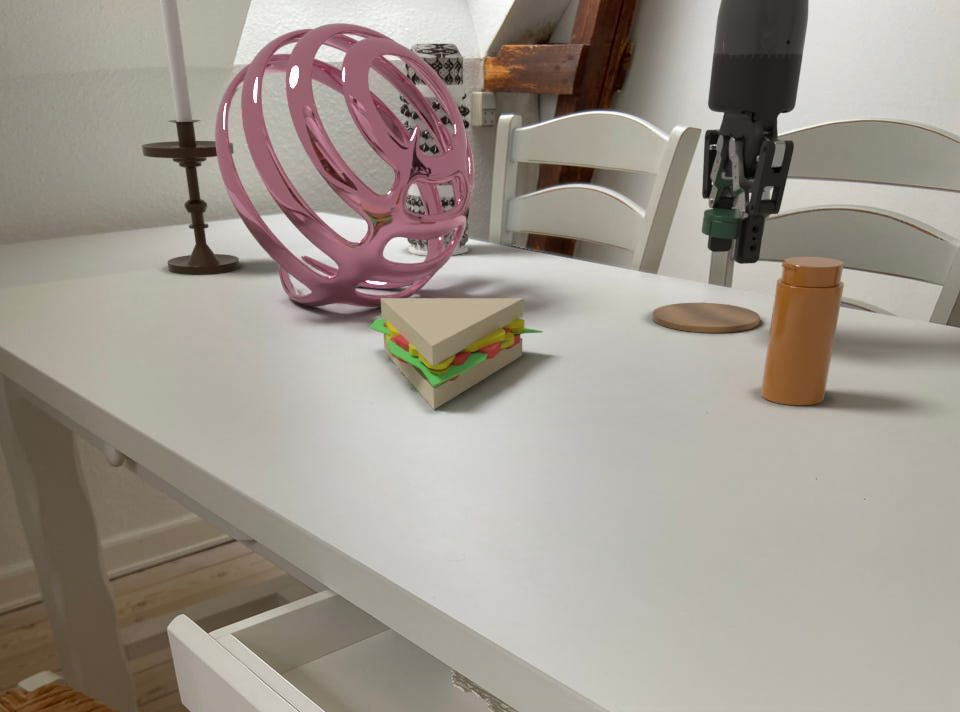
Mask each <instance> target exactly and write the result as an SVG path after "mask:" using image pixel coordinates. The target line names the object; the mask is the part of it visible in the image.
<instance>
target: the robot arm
mask: <svg viewBox="0 0 960 712" xmlns="http://www.w3.org/2000/svg"><path fill="white" fill-rule="evenodd" d="M809 3H810V2H809V0H720V3H719V9H718V13H717V19H716V24H715V35H714V42H713V43H714V44H713V55H712V63H711V73H710V81H709V90H708V100H707V106H708V109H709V110H710V111H712V112H716V113H723V116H722V119H721V124H720V127H719V128H717V129H707V130H706V131H705V134H704V142H703V143H704V146H703V163H702V164H703V166H702V188H701V190H702V191H701V193H702V194H701V196H702V199H704V200H706V199H708V207H709V209H718V208H729V209H736V208H737V204H738V209H739V217H740V219H738V227H737V235H736V239H735V244H734V251H733V261H734V262H735V263H737V264H741V265H743V264H744V265H745V264H746V265H747V264H756V263H757V262H759V260H760V255H761V248H762V241H763V236H762V234H763V235H764V232H763V227H764V228H765V226H764V220H765V219H766V220H768V219H769V217H770V216H771V215H779V213H780V211H781V206H782V202H783V198H784V194H785V189H786V185H787V180H788V175H789V171H790V168H791V163H792V158H793V153H794V150H795V143H794V141H793V140H787V139H786V140H780V139H779V138H778V137H779V133H778V117H779V115H781V114H788V113H791V112H792V111H793V110H794V109H795V107H796V104H797V96H798V90H799V82H800V76H801V70H802V63H803V56H804V50H805V49H804V48H805V43H806V36H807V29H808V23H809V22H808V21H809V5H810V4H809ZM771 190H772V193H771ZM766 220H765V221H766ZM733 240H734V239H725V238H718V237H712V236H708V237H707V249H708V250H709V251H711V252H714V253H724V252H729V251H730V250H731V249H732V247H733Z"/></svg>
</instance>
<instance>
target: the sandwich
mask: <svg viewBox="0 0 960 712" xmlns="http://www.w3.org/2000/svg"><path fill="white" fill-rule="evenodd" d="M380 311H381V312H380V313H381V317H382V318H376V319H375V320H374V322H373V323H371V325H370V326H369V329H371V330H372V331H376V332H378V333H382V334H383V349H384V351H383V352H384V353H385V354H386V355H387V356H388V358H390V360H391V361H392V362H393V363H394V364H395V366H396V367H397V369H399V370H400V372H401V373H402V374H403V375H404V376H405V377H406V379H407V380H408V381H409V382H410V383H411V385H412V386H413V387H414V388H415V389H416V390H417V391H418V393H419V394H420V395H421V396H422V397H423V399H424V400H425V401H426V402H427V403H428V404H429V406H430V407H431V408H432V409H433V410H436V409H438V408H439V407H441V406H443V405H444V404H446V403H448V402H449V401H451V400H452V399H454V398H455V397H458V396H460V394H462V393H463V392H465V391H467V390H469V389H471V388H472V387H474V386H475V385H477V384H478V383H480V382H482V381H483V380H485V379H487V378H488V377H489V376H491V375H493V374H494V373H496V372H498V371H500V370H501V369H503V368H504V367H506V366H508V365H509V364H511V363H513V362H514V361H516V360H517V359H519V358H521V357H522V356H523V338H522V337H521V335H523V334H537V333H540V334H542V333H543V330H539V329H532V328H528V327H525V319H522V318H523V317H524V298H522V297H521V298H518V297H517V298H515V297H514V298H513V297H511V298H510V297H509V298H499V297H498V298H497V297H495V298H493V297H491V298H489V297H488V298H487V297H486V298H485V297H483V298H481V297H480V298H479V297H476V298H472V297H471V298H470V297H468V298H467V297H464V298H463V297H460V298H458V297H457V298H454V297H453V298H451V297H449V298H448V297H446V298H445V297H443V298H441V297H437V298H436V297H434V298H433V297H432V298H430V297H429V298H428V297H423V298H422V297H421V298H420V297H419V298H418V297H417V298H414V297H409V298H381V307H380Z"/></svg>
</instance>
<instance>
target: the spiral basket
mask: <svg viewBox="0 0 960 712" xmlns="http://www.w3.org/2000/svg"><path fill="white" fill-rule="evenodd" d="M348 35H351V36H355V37H360V38H363V39H360V40H358V39H356V38H353V37H351V36H348ZM291 44H295V45H294V47H293V49H292V50H291V53H276V52H277V51H279V50H280V49H281V48H283V47H285V46H288V45H291ZM321 46H327V47H329V48H332V49H335V50H338V51H340V52H343V53H345V55H344V58H343V61H342V63H341V69H340V68H338V67H336V66H334V65H332V64H330V63H328V62H325V61H323V60H321V59H317V58H316V55H317V54H318V51H319V50H320V48H321ZM410 49H411V48H408V47H407V46H405V45H403V44H401V43H399V42H397V41H396V40H394V39H392V38H391V37H390V36H387V35H386V34H384V33H381V32H379V31H377V30H375V29H372V28H369V27H366V26H362V25H359V24H355V23H354V24H353V23H345V22H344V23H343V22H342V23H341V22H339V23H338V22H335V23H328V24H323V25H319V26H317V27H315V28H301V29H296V30H292V31H289V32H286V33H284V34H282V35H279V36H277V37H275V38H274V39H272V40H271V41H269V42H268V43H266V44H265V45H264V46H263V47H262V48H261V49H260V50H259V51H258V52H257V53H256V55H255V56H254V57H253V59H252V60H251V62H249V63H248V64H247V65H246V66H244V67H242V69H240V71H238V73H236V74H235V76H234V77H233V78H232V79H231V81H230V83H229V84H228V86H227V87H226V89H225V91H224V93H223V95H222V97H221V100H220V103H219V104H218V105H219V106H218V109H217V114H216V120H215V128H214V141H215V144H216V153H217V156H216V159H217V164H218V168H219V172H220V175H221V178H222V181H223V184H224V186H225V189H226V192H227V194H228V197H229V199H230V201H231V203H232V205H233V207H234V209H235V211H236V212H237V214H238V216H239V217H240V219H241V221H242V222H243V224H244V225H245V227H246V229H247V230H248V231H249V233H250V234H251V235H252V237H253V238H254V239H255V241H256V242H257V243H258V244H259V246H260V247H261V248H262V249H263V250H264V252H265V253H266V254H267V255H268V256H269V257H270V258H271V259H272V260H273V261H274V262H275V263H276V264H277V265H278V272H279V273H278V274H279V279H280V283H281V286H282V289H283V291H284V292H285V293H286V294H285V295H287V296H288V298H290V299H291V300H292V301H294V302H296V303H298V304H300V305H303V306H307V307H313V308H314V307H315V308H318V307H324V306H329V305H336V304H337V305H346V306H354V307H360V308H381V298H411V297H412V296H413V295H415V294H416V293H418V292H419V291H420V290H422V288H423V287H425V286H426V285H427V284H428V282H429V281H430V280H431V279H432V278H433V277H434V276H435V275H436V274H437V273H438V272H439V271H440V269H442V268H443V267H444V266H445V265H446V264H447V263H448V262H449V260H450V259H451V258H452V256H454V255H453V253H454V252H455V250H456V248H457V246H458V245H459V243H460V240H461V238H462V236H463V233H464V231H465V227H466V224H467V223H468V220H469V215H470V210H471V207H472V201H473V196H474V190H475V177H476V175H475V161H474V155H473V151H472V146H471V142H470V139H469V135H468V132H467V129H465V127H464V123H463V120H464V119H463V117H462V116H461V114H460V111H459V109H458V106H457V104H456V102H455V100H454V98H453V96H452V94H451V93H450V91H449V89H448V88H447V86H446V85H445V83H444V82H443V81H442V79H441V78H440V77H439V75H438V74H437V73H436V72H435V71H434V70H433V69H432V68H431V66H430V65H429V64H427V63H426V62H425V61H424V60H423V59H422V58H421V57H420V56H418V55H417V54H416V53H414V52H413V51H411V50H410ZM275 53H276V54H275ZM385 56H393V57H397V58H398V59H400V60H401V61H403V63H404V64H405V63H406V64H407V65H408V66H409V67H410V68H411V69H412V70H413V71H414V72H415V73H416V74H417V75H418V76H419V77H420V78H421V79H422V80H423V81H424V82H425V83H426V85H427V86H428V87H429V88H430V90H431V91H432V92H433V94H434V95H435V96H436V98H437V99H438V101H439V102H440V104H441V105H442V107H443V108H444V110H445V112H446V114H447V115H448V117H449V119H450V121H451V123H452V125H453V130H454V137H453V136H452V135H451V133H450V132H449V130H448V129H447V128H446V126H445V125H444V124H443V123H442V122H441V120H440V118H439V117H438V115H437V114H436V112H435V110H434V109H433V108H432V106H431V105H430V103H429V102H428V101H427V99H426V98H425V97H424V95H423V94H422V93H421V92H420V91H419V89H418V88H417V87H416V86H415V85H414V84H413V83H412V82H411V80H410V79H409V78H408V77H407V76H406V73H404V72H402V70H400V68H398V66H396V65H395V64H394V63H393V62H391V61H390V60H389V59H388V58H387V57H385ZM370 69H371V70H373V71H375V72H376V73H377V74H378V75H379V76H381V77H382V78H383V79H384V80H385V81H387V83H389V84H390V85H391V86H392V87H393V88H394V89H395V90H396V91H397V92H398V93H399V95H400V94H401V95H402V96H403V97H404V98H405V99H406V100H407V102H408V103H409V104H410V105H411V106H412V108H413V109H414V110H415V111H416V113H417V114H418V115H419V117H420V118H421V120H422V121H423V123H424V124H425V126H426V127H427V129H428V130H429V132H430V134H431V135H432V137H433V139H434V141H435V143H436V145H437V147H438V149H439V151H440V153H441V155H440V156H427V155H423V154H422V152H421V150H420V149H419V136H420V128H419V124H416V125H415V127H414V129H413V132H412V134H411V135H410V133H409V132H408V130H407V129H406V128H405V126H404V125H403V122H402V121H401V120H400V118H399V117H398V116H397V115H396V114H395V112H393V110H392V109H391V108H389V106H388V105H387V104H386V103H385V102H384V101H383V100H382V99H381V98H380V97H379V96H378V95H377V94H375V92H373V91H372V90H371V89H370V84H369V73H370ZM269 74H285V94H286V100H287V106H288V110H289V114H290V118H291V121H292V124H293V127H294V129H295V131H296V135H297V136H298V140H299V141H300V143H301V145H302V147H303V149H304V151H305V153H306V154H307V156H308V158H309V160H310V161H311V163H312V164H313V166H314V168H315V169H316V171H317V172H318V174H319V175H320V176H321V177H322V178H323V180H324V182H326V184H327V185H328V186H329V188H330V189H331V190H332V191H333V192H334V193H335V194H336V195H337V196H338V197H339V198H340V199H341V200H342V201H343V202H344V204H346V205H347V206H348V207H350V208H351V209H352V210H353V211H354V212H356V213H357V214H358V215H359V216H361V218H363V220H364V221H365V222H366V224H367V232H366V233H365V235H364V237H362V238H361V240H359V241H351V240H348V239H346V238H344V237H343V236H341V235H340V234H339V233H338V232H336V230H334V229H333V228H332V227H331V226H330V225H328V224H327V223H326V222H325V221H324V220H323V219H322V218H321V217H320V216H319V215H318V214H317V213H316V212H315V211H314V210H313V209H312V207H311V206H309V204H308V203H307V202H306V200H305V199H304V198H303V197H302V196H301V194H300V193H299V192H298V191H299V190H297V189H296V187H295V186H294V184H293V182H292V181H291V179H290V178H289V176H288V175H287V173H286V171H285V169H284V167H283V166H282V164H281V162H280V160H279V158H278V155H277V154H276V152H275V150H274V146H273V144H272V141H271V139H270V136H269V133H268V129H267V126H266V121H265V116H264V111H263V110H264V109H263V99H262V89H263V79H264V76H265V75H269ZM313 81H315V82H317V83H320V84H321V85H324V86H326V87H328V88H330V89H332V90H333V91H334V92H337V93H338V94H340V95H341V96H343V98H344V101H345V104H346V107H347V109H348V112H349V114H350V116H351V119H352V121H353V122H354V124H355V126H356V128H357V130H358V131H359V134H361V136H362V138H363V139H364V140H365V141H366V143H367V144H368V145H369V147H370V148H371V149H372V150H373V152H375V154H376V155H377V156H379V158H380V159H382V161H384V163H386V164H387V165H388V166H389V167H390V168H391V169H392V170H393V172H394V180H393V183H392V185H391V187H390V189H389V191H388V192H387V193H386V194H379V193H377V192H376V191H374V190H373V189H371V188H370V187H369V186H368V184H366V183H365V182H364V181H363V180H362V179H361V178H360V177H359V176H358V175H357V174H356V173H355V172H354V171H353V170H352V169H351V167H350V166H349V165H348V164H347V163H346V160H345V159H343V157H342V155H341V154H340V153H339V151H338V150H337V148H336V147H335V145H334V144H333V142H332V140H331V139H330V137H329V135H328V133H327V131H326V129H325V127H324V124H323V121H322V120H321V119H322V118H321V117H320V115H319V112H318V108H317V105H316V101H315V96H314V91H313ZM241 87H242V89H241V95H240V96H241V98H240V111H241V112H240V113H241V121H242V128H243V134H244V137H245V141H246V144H247V148H248V150H249V154H250V156H251V159H252V161H253V163H254V166H255V168H256V171H257V173H258V175H259V176H260V178H261V180H262V182H263V184H264V186H265V188H266V189H267V191H268V193H269V195H270V196H271V197H272V199H273V200H274V202H275V203H276V205H277V206H278V208H279V209H280V210H281V211H282V213H283V214H284V215H285V217H286V218H287V219H288V221H290V223H291V224H292V225H293V226H294V227H295V229H297V231H299V232H300V234H302V235H303V237H304V238H306V239H307V240H308V241H309V242H310V243H311V244H312V245H314V246H315V247H316V248H317V249H318V250H320V251H321V252H322V253H323V254H325V255H326V256H327V257H328V258H330V259H331V260H332V261H333V262H334V263H335V264H336V265H337V267H334V266H331V265H328V264H325V263H324V262H321V261H319V260H317V259H315V258H312V257H310V256H308V255H301V259H302V260H303V261H301V259H299V258H298V257H297V256H296V255H295V254H294V253H293V252H292V251H290V249H289V248H288V247H286V246H285V244H283V242H282V241H280V240H279V238H278V237H277V236H276V235H275V233H274V232H273V231H272V230H271V228H270V227H269V226H268V225H267V224H266V222H265V221H264V220H263V218H262V217H261V215H260V213H259V212H258V210H257V209H256V208H255V206H254V204H253V202H252V201H251V199H250V197H249V195H248V193H247V191H246V189H245V187H244V185H243V183H242V180H241V178H240V176H239V173H238V169H237V167H236V165H235V164H236V163H235V161H234V157H233V154H232V153H231V148H230V143H231V142H230V136H229V116H230V111H231V110H230V109H231V105H232V103H233V99H234V97H235V95H236V93H237V92H238V91H239V89H240V88H241ZM462 119H463V120H462ZM229 142H230V143H229ZM450 180H451V184H452V188H453V193H454V200H455V206H454V207H453V208H451V209H450V210H448V211H446V212H443V210H442V204H441V200H440V196H439V192H438V189H437V186H436V185H438V184H443V183H446V182H449V181H450ZM413 183H416V185H417V187H418V190H419V193H420V195H421V198H422V202H423V205H424V209H425V213H426V215H425V214H418V213H413V212H411V211H409V210H408V209H409V208H408V207H407V202H406V198H407V197H408V194H409V188H410V187H411V185H412V184H413ZM453 230H454V231H453ZM452 231H453V234H452V237H451V239H450V241H449V243H448V245H447V246H446V248H445V249H444V250H443V244H444V236H445V235H447V234H449V233H450V232H452ZM395 238H403V239H404V238H405V239H407V238H408V239H414V240H428V250H427V255H425V258H424V260H423V261H421V262H414V263H411V262H410V263H409V262H407V263H406V262H397V261H392V260H389V259H388V258H387V259H386V257H385V256H384V250H385V248H386V247H387V244H388V243H389V242H390V241H391V240H393V239H395ZM304 262H305V263H306V264H305V263H304ZM308 265H309V266H310V267H309V266H308ZM311 267H312V268H313V269H312V268H311ZM314 269H315V270H317V271H319V272H321V273H323V274H324V275H323V274H321V273H319V272H317V271H315V270H314ZM290 276H291V277H293V278H294V279H295V280H297V281H298V282H299V283H301V284H302V285H304V286H305V287H306V288H308V289H309V291H310V293H307V294H301V293H300V292H299V291H298V290H297V289H296V288H295V286H294V284H293V282H292V280H291V278H290ZM408 286H409V287H408ZM357 287H361V288H366V289H375V290H391V289H401V288H405V287H407V288H406V289H404V290H401V291H398V292H396V293H391V294H370V293H366V292H362V291H358V290H357V289H356V288H357Z"/></svg>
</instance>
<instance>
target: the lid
mask: <svg viewBox="0 0 960 712" xmlns="http://www.w3.org/2000/svg"><path fill="white" fill-rule="evenodd" d="M738 219H740V217H739V208H732V209H729V208H718V209H713V208H708V209H706V210H704V211H703V218H702V225H701V226H702V227H701V233H702V234H704V235H705V236H708V237H709V236H712V237H718V238H725V239H733V240H736V235H737V227H738ZM766 220H767V219H765V220H764V227H763V234H762V237H764V231H765V225H766Z"/></svg>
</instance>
